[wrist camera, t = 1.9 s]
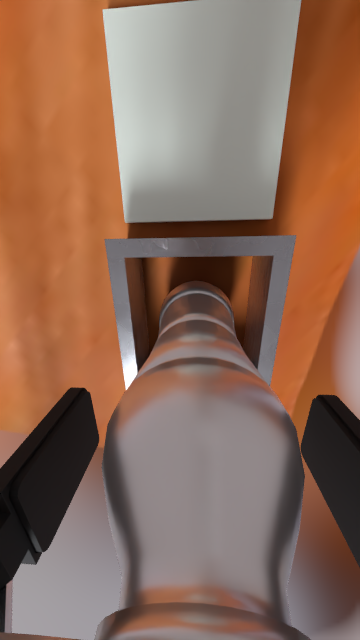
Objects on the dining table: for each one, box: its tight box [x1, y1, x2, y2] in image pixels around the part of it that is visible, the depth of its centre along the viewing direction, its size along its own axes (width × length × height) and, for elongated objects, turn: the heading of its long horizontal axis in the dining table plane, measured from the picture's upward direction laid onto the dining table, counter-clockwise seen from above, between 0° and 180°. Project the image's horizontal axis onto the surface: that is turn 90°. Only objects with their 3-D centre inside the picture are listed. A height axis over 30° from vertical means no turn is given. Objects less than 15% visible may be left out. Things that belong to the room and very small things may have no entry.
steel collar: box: [105, 235, 296, 390], centre depth 18 cm, size 13×12×5 cm
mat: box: [103, 0, 301, 223], centre depth 15 cm, size 12×12×1 cm
